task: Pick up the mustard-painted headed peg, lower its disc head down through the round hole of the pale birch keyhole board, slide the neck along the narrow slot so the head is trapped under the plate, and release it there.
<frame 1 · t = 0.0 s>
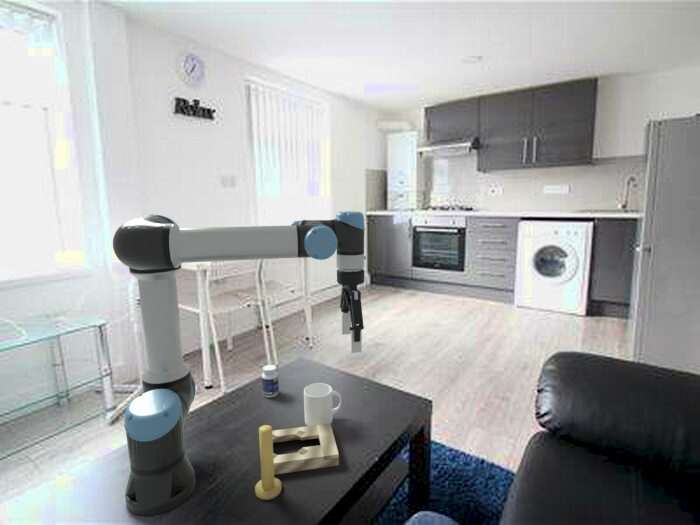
hand: (351, 342, 113), 28 cm above the table, fingers open, 13 cm apart
keyhole board: (301, 452, 110), on the table
headed peg: (268, 490, 96), on the table
mug: (323, 421, 125), on the table
pill bottle: (270, 394, 141), on the table
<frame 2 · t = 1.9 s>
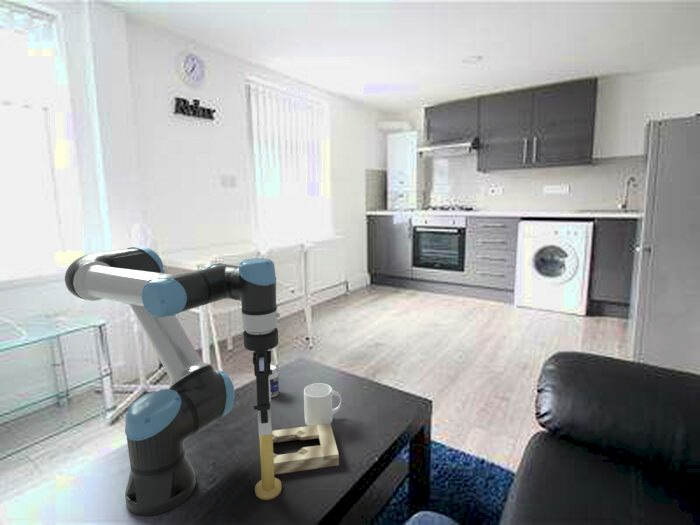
hand: (265, 416, 93), 19 cm above the table, fingers open, 13 cm apart
nothing on the table moved.
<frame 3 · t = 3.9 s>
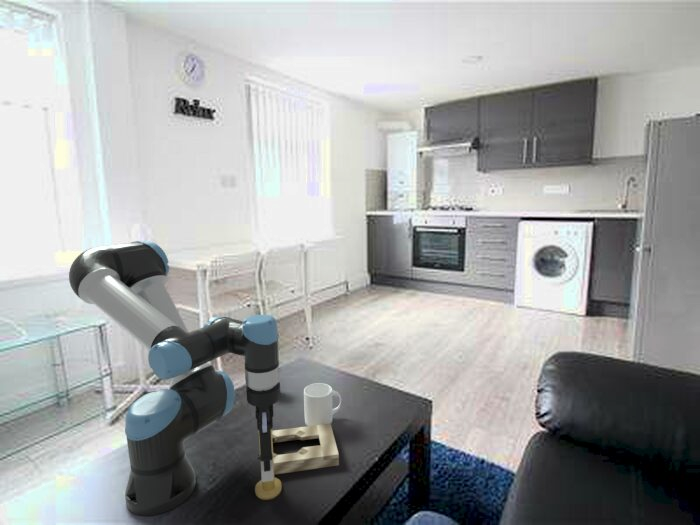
hand: (267, 474, 95), 4 cm above the table, fingers closed on headed peg, 3 cm apart
headed peg: (268, 489, 96), on the table, touching gripper
everything else where it was.
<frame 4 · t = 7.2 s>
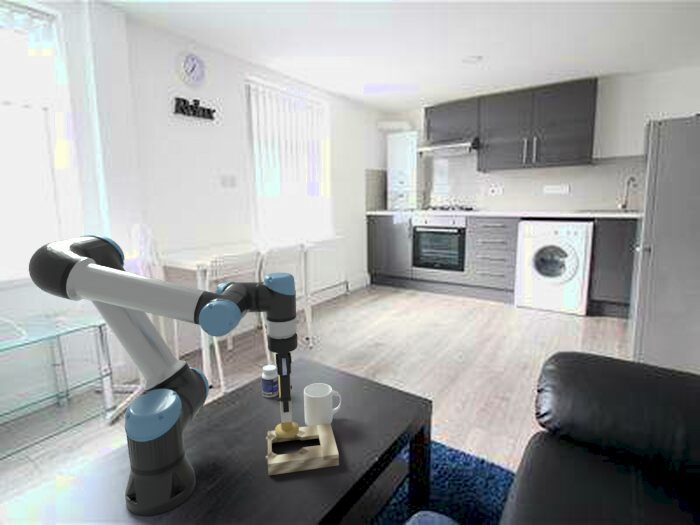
hand: (286, 417, 107), 11 cm above the table, fingers closed on headed peg, 3 cm apart
headed peg: (287, 431, 107), point 7 cm above the table, touching gripper
everything else where it was.
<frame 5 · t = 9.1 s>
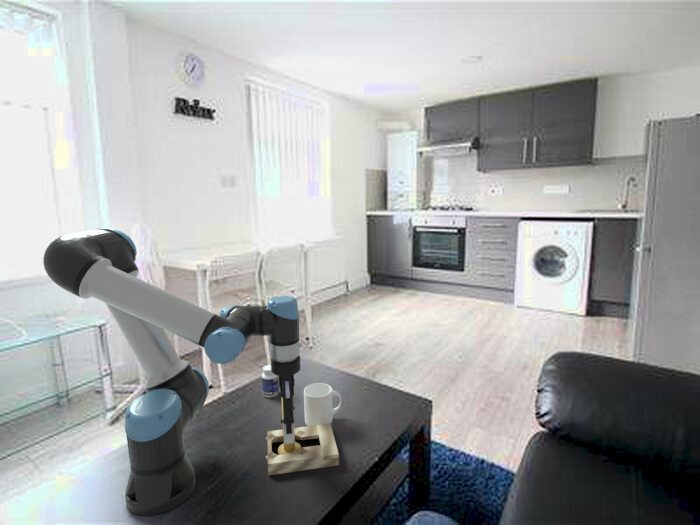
hand: (288, 438, 108), 5 cm above the table, fingers closed on headed peg, 3 cm apart
headed peg: (289, 451, 109), point 1 cm above the table, touching gripper
everything else where it was.
when the fingers open (5 cm above the table, at t = 10.6 s): headed peg stays where it is, resting in keyhole board.
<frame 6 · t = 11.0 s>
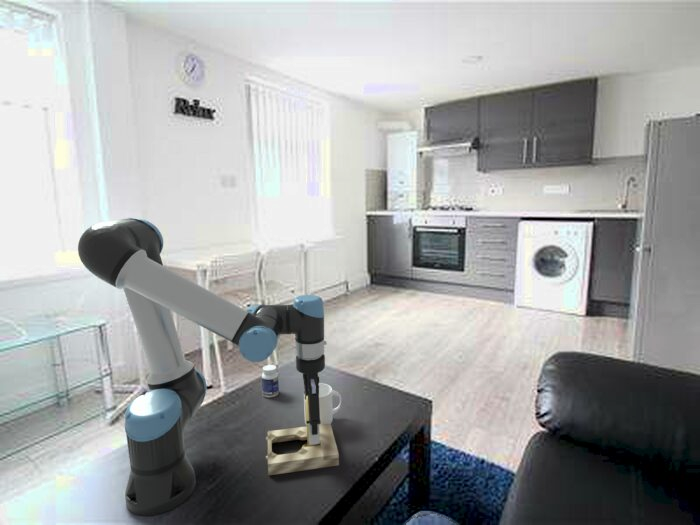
hand: (312, 432, 109), 6 cm above the table, fingers open, 9 cm apart
headed peg: (313, 451, 110), resting in keyhole board
everything else where it was.
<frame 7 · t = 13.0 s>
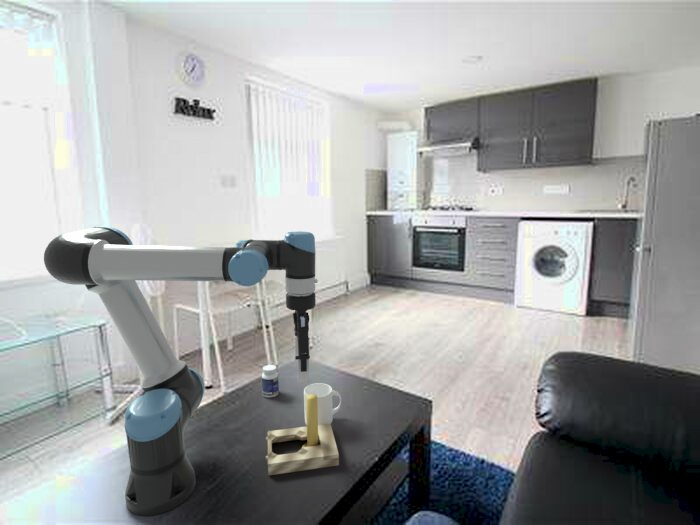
hand: (301, 369, 107), 23 cm above the table, fingers open, 13 cm apart
nothing on the table moved.
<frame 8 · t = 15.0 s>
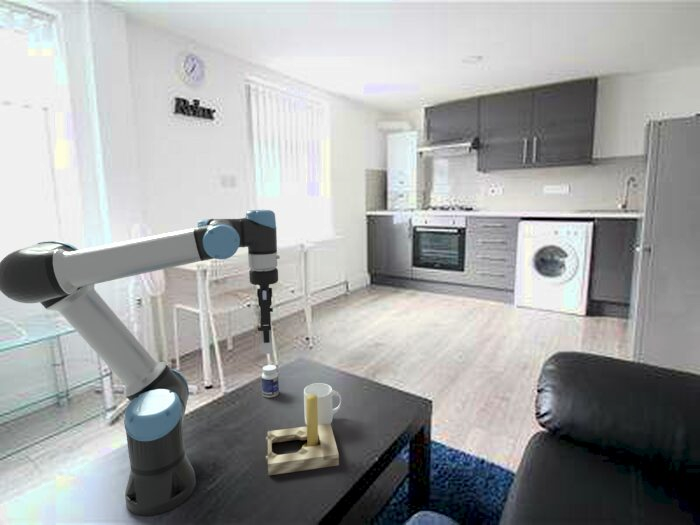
hand: (267, 343, 111), 29 cm above the table, fingers open, 13 cm apart
nothing on the table moved.
at the end: headed peg 0.8 cm from the target spot on the keyhole board, point 0.0 cm above the keyhole board's base; headed peg tilted 0°; the gripper is holding nothing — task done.
